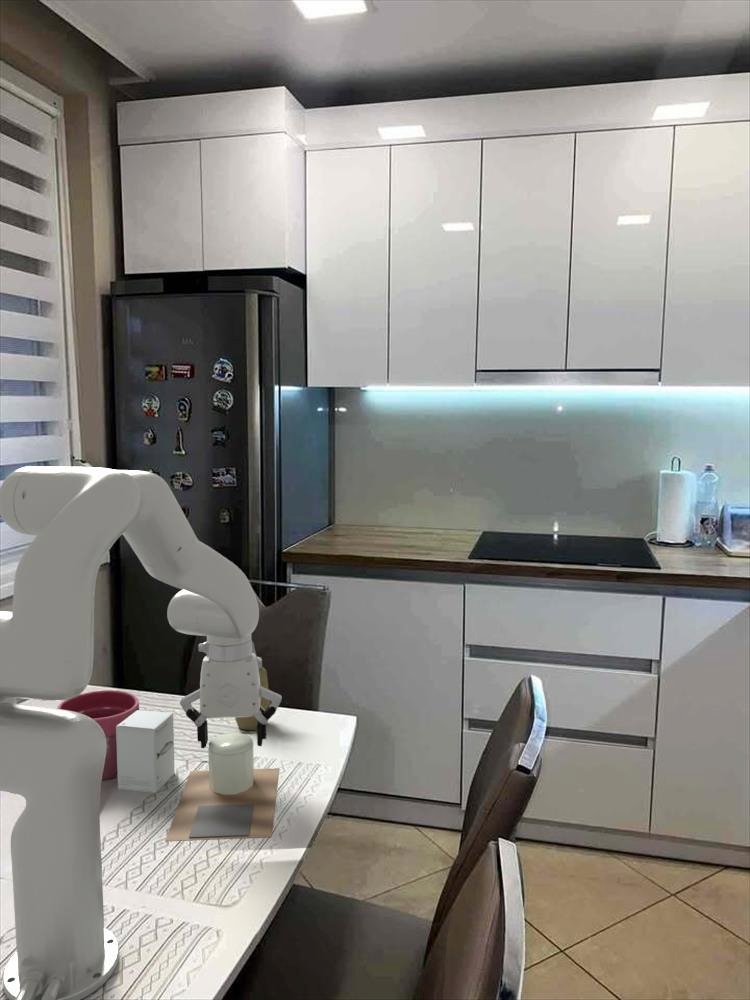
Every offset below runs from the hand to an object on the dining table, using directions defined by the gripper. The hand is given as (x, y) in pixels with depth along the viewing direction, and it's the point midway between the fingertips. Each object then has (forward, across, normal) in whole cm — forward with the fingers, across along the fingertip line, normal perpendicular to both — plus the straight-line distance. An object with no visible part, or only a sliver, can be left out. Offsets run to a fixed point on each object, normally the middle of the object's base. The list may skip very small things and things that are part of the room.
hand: (232, 743), depth 128 cm
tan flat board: (+8, 0, -7) cm, 11 cm away
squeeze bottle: (+9, +1, +26) cm, 28 cm away
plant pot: (+8, -25, +8) cm, 28 cm away
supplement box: (+8, -15, +1) cm, 18 cm away
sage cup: (+7, 0, -1) cm, 7 cm away
